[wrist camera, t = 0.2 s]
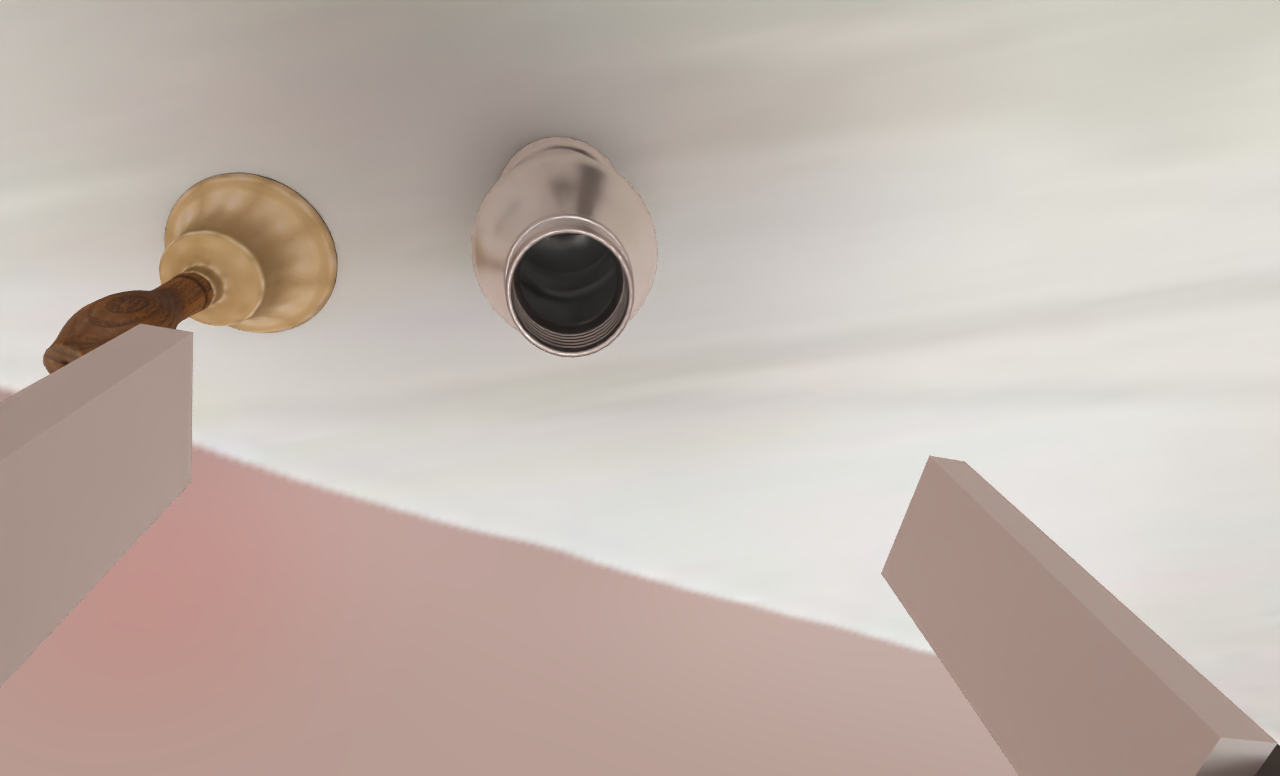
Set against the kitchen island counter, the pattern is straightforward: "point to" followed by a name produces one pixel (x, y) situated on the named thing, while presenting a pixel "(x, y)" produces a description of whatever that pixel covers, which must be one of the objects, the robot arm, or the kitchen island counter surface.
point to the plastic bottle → (564, 247)
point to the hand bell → (221, 268)
